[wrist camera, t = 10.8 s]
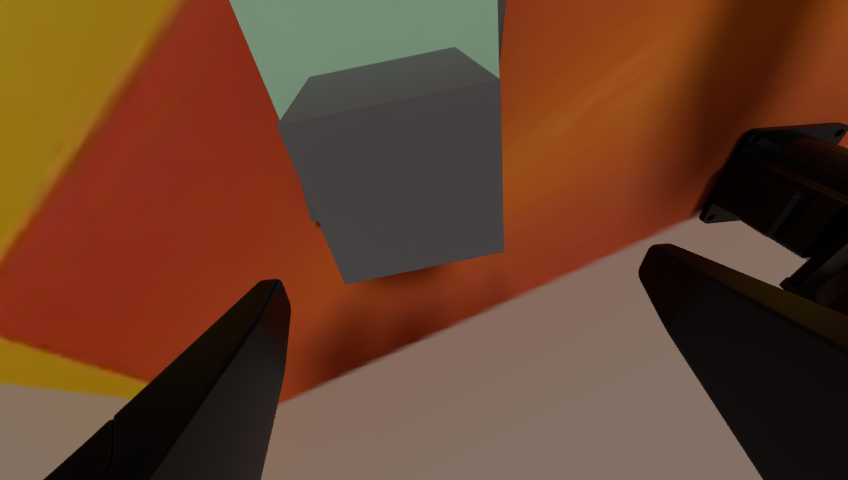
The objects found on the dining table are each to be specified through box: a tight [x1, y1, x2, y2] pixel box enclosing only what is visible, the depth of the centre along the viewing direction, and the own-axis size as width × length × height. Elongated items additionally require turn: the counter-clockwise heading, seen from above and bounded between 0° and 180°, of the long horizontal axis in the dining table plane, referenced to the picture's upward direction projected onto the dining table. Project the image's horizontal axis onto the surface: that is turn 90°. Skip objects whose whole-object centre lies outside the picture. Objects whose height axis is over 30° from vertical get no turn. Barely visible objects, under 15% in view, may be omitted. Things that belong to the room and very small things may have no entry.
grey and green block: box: [229, 0, 504, 285], centre depth 11 cm, size 8×10×6 cm
